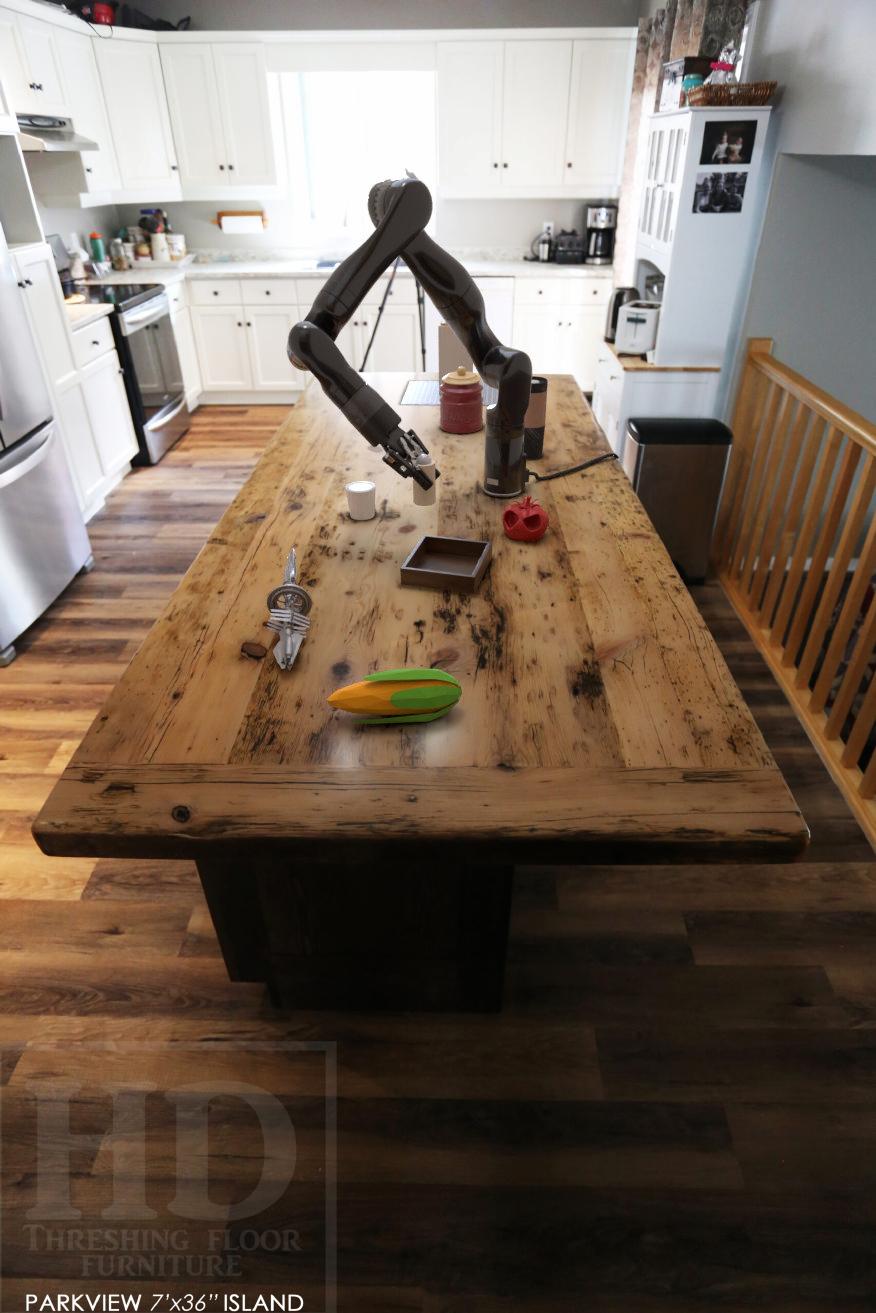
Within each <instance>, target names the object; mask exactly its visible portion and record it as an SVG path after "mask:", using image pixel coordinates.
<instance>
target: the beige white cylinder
mask: <svg viewBox="0 0 876 1313" xmlns="http://www.w3.org/2000/svg"><path fill="white" fill-rule="evenodd" d="M376 487H377V486H376V484H375V483H373V482H371V481H365V480H363V481H361V480H359V481H353V482H350V483H348V484H346V485H345V494H346V499H347V500H346V501H347V505H348V506H347V507H348V511H349V517H350V518H351V519H353V520H355V521H366V520H370V519H373V518H374V517H375V514H376Z"/></svg>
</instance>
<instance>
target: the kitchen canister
mask: <svg viewBox="0 0 876 1313" xmlns="http://www.w3.org/2000/svg"><path fill="white" fill-rule="evenodd" d="M481 380H482V378H481V377H480V375H478V374H476V373H475V372H474V371H473V372H467V371H466V369H465V367H463V366H460V367H458V369H457V371H456V372H451V373H448V374H447V375H446V376H445V377H443V378H442V381H443V384H442V385H440V387H439V389H440V390H441V397H440V399H439V400H440V405H439V426H440V429H441V430H443V431H444V432H447V433H450V434H472V433H475V432H478V431H480V430H482V428H483V424H484V417H483V412H484V410H483V409H484V408H483V406H484V405H483V397H482V390H483V388H484V387H483V385H482V384H480V382H482V381H481Z"/></svg>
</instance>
